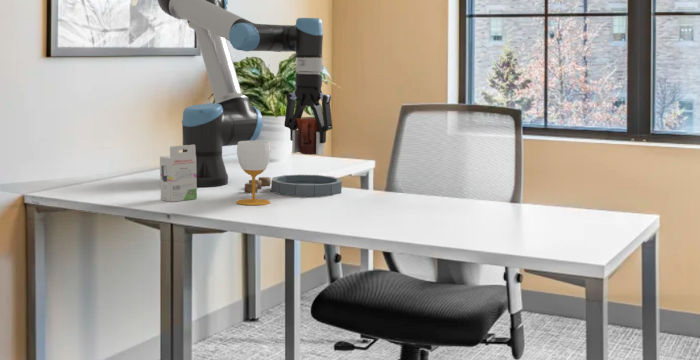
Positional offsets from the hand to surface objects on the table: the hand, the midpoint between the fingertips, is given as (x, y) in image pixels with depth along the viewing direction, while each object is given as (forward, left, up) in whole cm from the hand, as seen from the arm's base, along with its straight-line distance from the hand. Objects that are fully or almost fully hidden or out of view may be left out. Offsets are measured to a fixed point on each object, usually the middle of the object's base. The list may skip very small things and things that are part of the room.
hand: (307, 153), depth 254 cm
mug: (+1, 0, 0) cm, 1 cm away
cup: (0, -25, -11) cm, 28 cm away
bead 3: (-15, 0, -11) cm, 19 cm away
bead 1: (-11, -12, -11) cm, 20 cm away
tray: (0, 0, -11) cm, 11 cm away
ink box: (-19, -34, -11) cm, 40 cm away
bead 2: (-14, -6, -11) cm, 19 cm away
